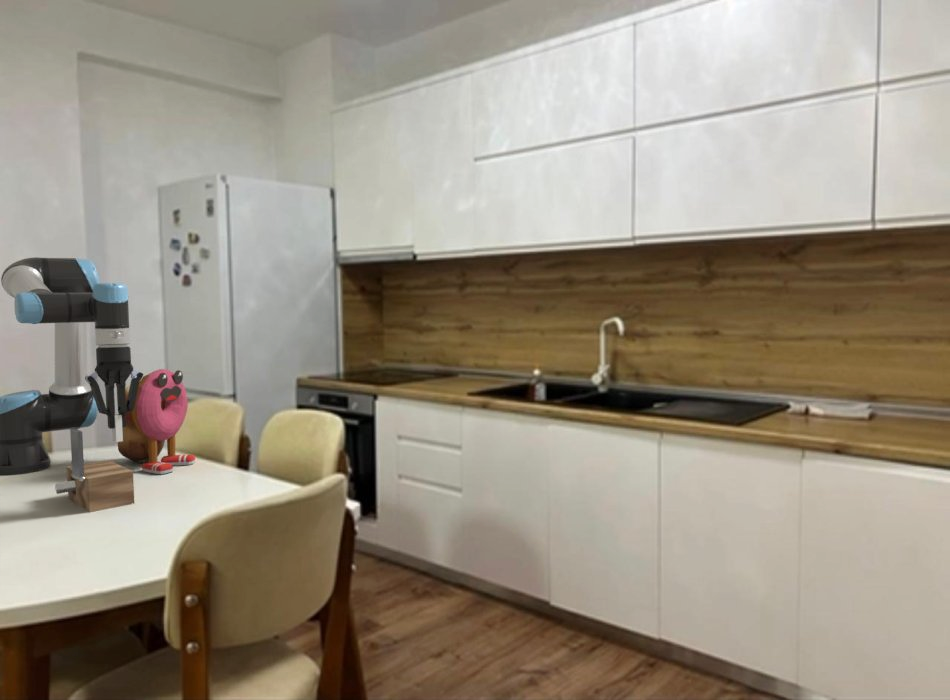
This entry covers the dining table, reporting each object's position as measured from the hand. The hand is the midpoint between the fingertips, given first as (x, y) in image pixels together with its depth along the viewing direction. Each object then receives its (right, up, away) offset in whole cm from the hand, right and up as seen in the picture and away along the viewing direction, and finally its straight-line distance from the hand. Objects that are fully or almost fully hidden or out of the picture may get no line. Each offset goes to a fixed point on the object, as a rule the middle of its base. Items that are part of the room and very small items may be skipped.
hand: (117, 440), depth 169 cm
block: (-6, -15, +3) cm, 17 cm away
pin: (-9, -14, +5) cm, 17 cm away
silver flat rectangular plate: (-7, -8, -6) cm, 12 cm away
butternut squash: (-16, -13, +45) cm, 49 cm away
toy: (-4, -13, +36) cm, 39 cm away
